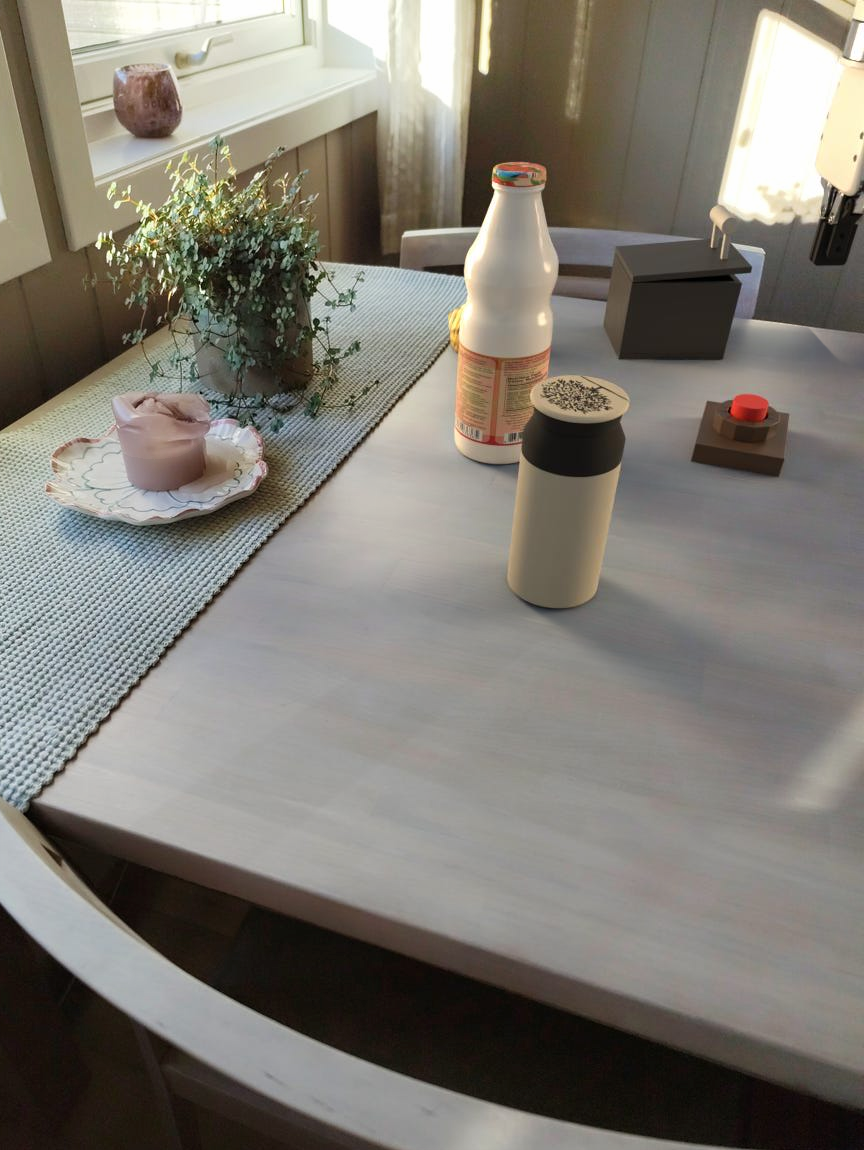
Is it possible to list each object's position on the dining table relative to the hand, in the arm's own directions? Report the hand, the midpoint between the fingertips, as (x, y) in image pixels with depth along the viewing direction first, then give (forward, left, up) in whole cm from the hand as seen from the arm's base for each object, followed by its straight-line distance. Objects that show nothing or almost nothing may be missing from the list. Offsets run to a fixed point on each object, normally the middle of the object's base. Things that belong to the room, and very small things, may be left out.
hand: (826, 262), depth 90 cm
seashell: (+6, -39, -19) cm, 44 cm away
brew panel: (+6, -1, -19) cm, 20 cm away
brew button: (+6, -1, -15) cm, 16 cm away
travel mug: (+41, 0, -19) cm, 45 cm away
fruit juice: (+25, -20, -19) cm, 37 cm away
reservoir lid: (-13, -23, -8) cm, 27 cm away
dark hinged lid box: (-13, -23, -19) cm, 32 cm away
